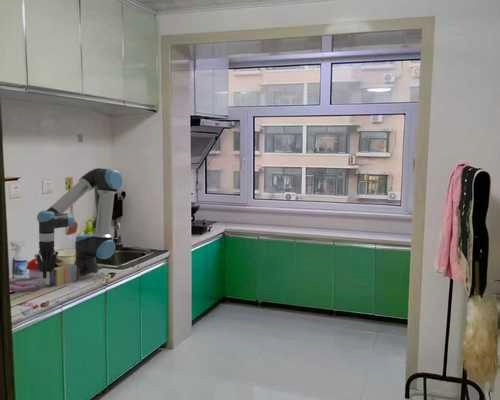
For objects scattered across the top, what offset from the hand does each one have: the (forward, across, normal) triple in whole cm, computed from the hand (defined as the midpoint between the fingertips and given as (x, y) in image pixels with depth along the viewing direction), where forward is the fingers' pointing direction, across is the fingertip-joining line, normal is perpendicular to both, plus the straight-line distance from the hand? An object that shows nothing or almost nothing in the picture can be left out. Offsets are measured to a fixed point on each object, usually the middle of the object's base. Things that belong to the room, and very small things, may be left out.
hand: (46, 283), depth 253 cm
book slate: (+2, -15, 0) cm, 16 cm away
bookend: (+2, -3, 0) cm, 3 cm away
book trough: (+3, -5, 0) cm, 6 cm away
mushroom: (+3, -9, -22) cm, 24 cm away
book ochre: (+2, -7, 0) cm, 7 cm away
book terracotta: (+2, -11, 0) cm, 12 cm away
